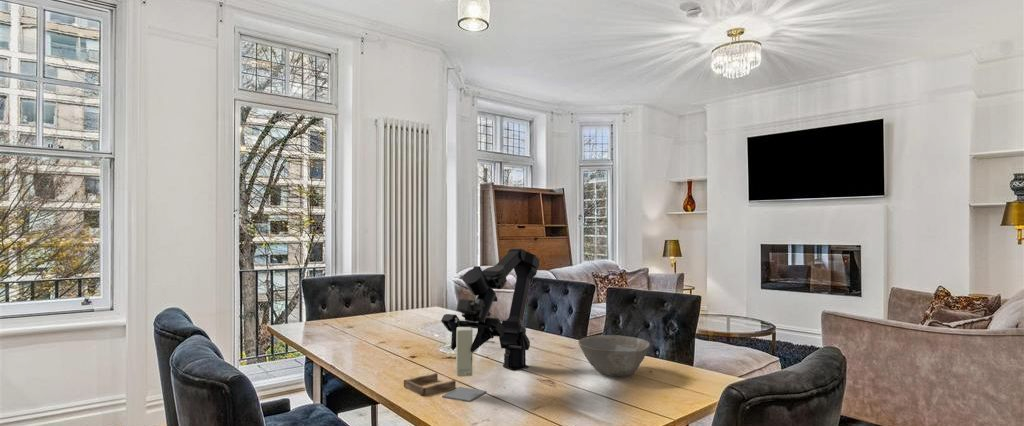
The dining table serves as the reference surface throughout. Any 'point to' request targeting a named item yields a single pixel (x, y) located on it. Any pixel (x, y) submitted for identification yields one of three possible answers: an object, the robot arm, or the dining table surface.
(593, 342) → the ceramic bowl
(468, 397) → the coaster
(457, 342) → the box
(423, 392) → the cradle
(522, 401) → the dining table surface
